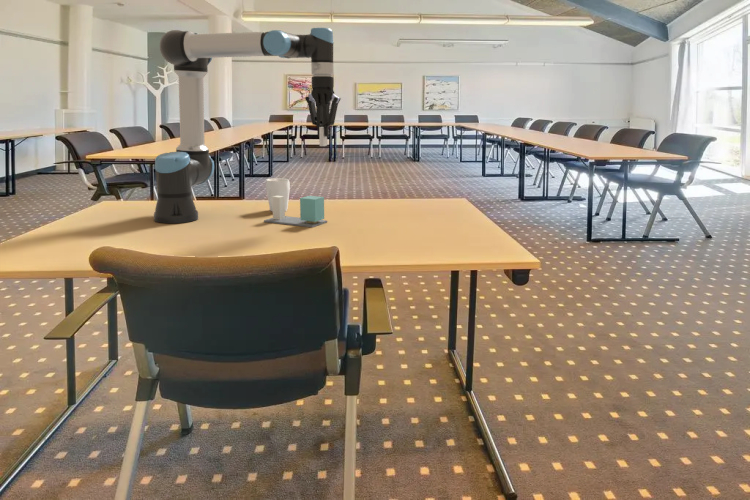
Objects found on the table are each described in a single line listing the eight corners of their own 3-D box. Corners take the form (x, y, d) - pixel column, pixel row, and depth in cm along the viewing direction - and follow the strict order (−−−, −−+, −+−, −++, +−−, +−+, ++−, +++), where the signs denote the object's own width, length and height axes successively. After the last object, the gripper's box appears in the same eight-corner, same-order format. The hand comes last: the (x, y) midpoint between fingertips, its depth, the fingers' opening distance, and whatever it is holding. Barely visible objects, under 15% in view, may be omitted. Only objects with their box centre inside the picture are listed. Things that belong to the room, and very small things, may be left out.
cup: (285, 213, 239) (285, 181, 236) (263, 212, 241) (262, 180, 238) (293, 209, 248) (292, 178, 245) (271, 208, 249) (270, 177, 246)
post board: (263, 221, 222) (263, 197, 220) (279, 217, 231) (279, 193, 229) (312, 227, 214) (312, 202, 212) (327, 222, 223) (327, 198, 221)
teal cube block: (300, 220, 218) (300, 198, 216) (309, 217, 223) (309, 195, 221) (315, 221, 215) (315, 199, 214) (324, 218, 221) (324, 197, 219)
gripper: (300, 75, 214) (301, 145, 220) (333, 75, 209) (334, 147, 214) (311, 76, 221) (312, 144, 226) (344, 76, 215) (344, 145, 221)
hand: (323, 145), depth 220 cm, fingers closed
